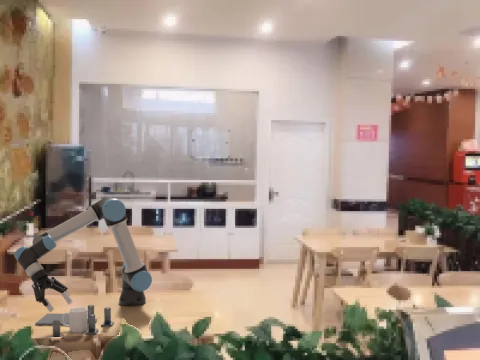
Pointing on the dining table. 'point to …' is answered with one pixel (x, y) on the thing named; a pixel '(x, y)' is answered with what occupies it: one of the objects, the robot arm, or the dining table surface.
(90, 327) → the posts
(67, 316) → the mat
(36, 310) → the dining table surface
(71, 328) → the cup
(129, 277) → the robot arm
